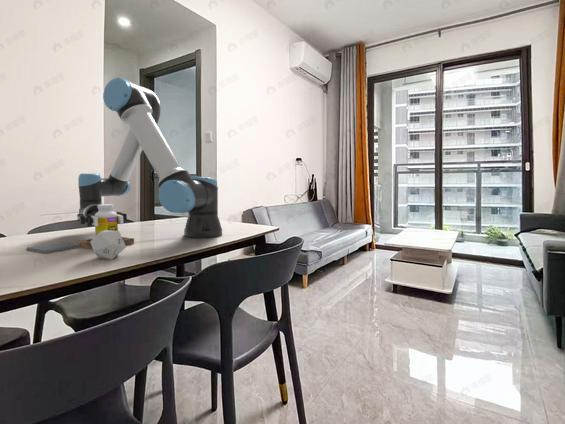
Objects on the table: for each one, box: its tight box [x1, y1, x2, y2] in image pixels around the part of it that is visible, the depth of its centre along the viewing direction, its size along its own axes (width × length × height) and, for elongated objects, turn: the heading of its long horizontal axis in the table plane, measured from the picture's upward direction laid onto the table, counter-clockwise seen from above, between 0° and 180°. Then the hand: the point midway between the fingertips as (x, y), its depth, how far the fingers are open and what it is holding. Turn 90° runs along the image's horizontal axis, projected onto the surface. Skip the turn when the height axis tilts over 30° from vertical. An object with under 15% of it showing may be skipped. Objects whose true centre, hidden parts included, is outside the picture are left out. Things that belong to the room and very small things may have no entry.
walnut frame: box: [78, 236, 135, 250], centre depth 105 cm, size 12×12×2 cm
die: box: [90, 230, 127, 260], centre depth 89 cm, size 8×9×10 cm
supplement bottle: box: [94, 203, 119, 236], centre depth 104 cm, size 7×7×13 cm
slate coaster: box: [26, 241, 80, 254], centre depth 99 cm, size 10×10×1 cm
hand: (109, 221), depth 100 cm, fingers closed on supplement bottle, 7 cm apart
